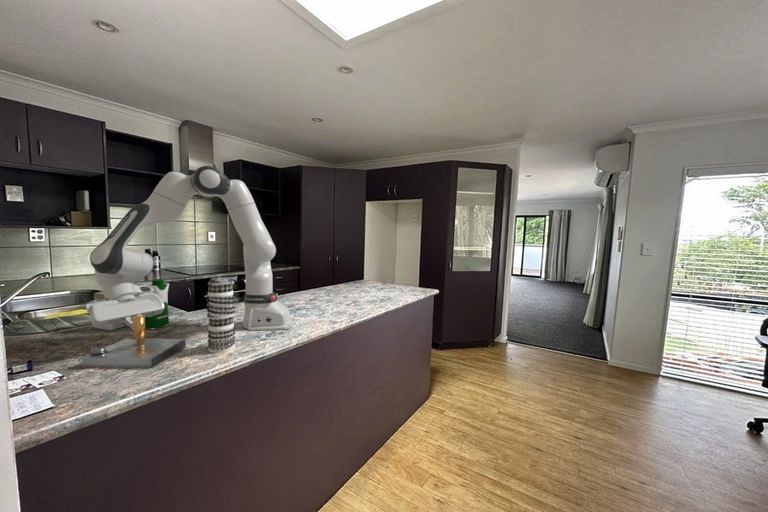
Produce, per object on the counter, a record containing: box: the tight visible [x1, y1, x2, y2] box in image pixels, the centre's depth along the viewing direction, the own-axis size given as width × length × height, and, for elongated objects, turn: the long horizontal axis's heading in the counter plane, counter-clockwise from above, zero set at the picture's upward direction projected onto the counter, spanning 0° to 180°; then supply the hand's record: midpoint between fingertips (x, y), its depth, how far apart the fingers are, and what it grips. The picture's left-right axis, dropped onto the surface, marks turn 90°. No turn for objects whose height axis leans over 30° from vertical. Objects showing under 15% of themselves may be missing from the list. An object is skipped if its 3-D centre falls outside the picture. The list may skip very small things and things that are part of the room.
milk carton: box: [138, 278, 170, 330], centre depth 129 cm, size 9×9×20 cm
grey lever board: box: [81, 338, 187, 369], centre depth 100 cm, size 21×16×3 cm
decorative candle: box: [205, 276, 236, 354], centre depth 108 cm, size 9×9×25 cm
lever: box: [89, 316, 147, 355], centre depth 98 cm, size 14×4×8 cm, turn 156°
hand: (137, 328), depth 104 cm, fingers closed, pressing on lever
